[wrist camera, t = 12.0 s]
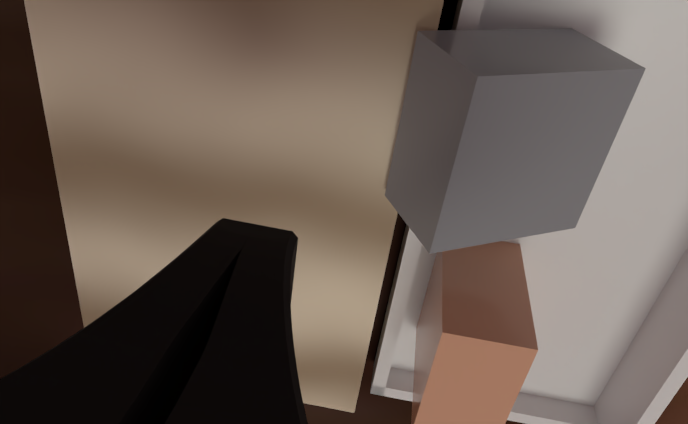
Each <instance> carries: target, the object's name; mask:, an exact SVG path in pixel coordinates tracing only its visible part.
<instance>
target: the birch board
mask: <svg viewBox="0 0 688 424" xmlns="http://www.w3.org/2000/svg"><path fill="white" fill-rule="evenodd" d="M443 2H444V0H24V3H25V9H26V14H27V20H28V25H29V31H30V36H31V41H32V47H33V52H34V58H35V63H36V69H37V74H38V80H39V85H40V90H41V96H42V101H43V107H44V112H45V118H46V123H47V128H48V134H49V139H50V145H51V150H52V156H53V161H54V167H55V172H56V177H57V183H58V188H59V194H60V199H61V205H62V210H63V216H64V221H65V226H66V232H67V237H68V243H69V248H70V254H71V259H72V265H73V270H74V275H75V281H76V286H77V292H78V297H79V303H80V308H81V313H82V319H83V324H84V328H85V327H86V326H87V325H89V324H90V323H92V322H93V321H95V320H96V319H97V318H99V317H100V316H101V315H103V314H104V313H106V312H107V311H108V310H110V309H111V308H113V307H114V306H115V305H117V304H118V303H119V302H121V301H122V300H124V299H125V298H126V297H128V296H129V295H130V294H132V293H133V292H134V291H136V290H137V289H138V288H139V287H141V286H142V285H143V284H144V283H146V282H147V281H148V280H149V279H151V278H152V277H153V276H154V275H156V274H157V273H158V272H159V271H161V270H162V269H163V268H164V267H166V266H167V265H168V264H169V263H170V262H172V261H173V260H174V259H175V258H176V257H177V256H179V255H180V254H181V253H182V252H183V251H184V250H186V249H187V248H188V247H189V246H190V245H191V244H193V243H194V242H195V241H196V240H197V239H198V238H199V237H200V236H202V235H203V234H204V233H205V232H206V231H207V230H208V229H209V228H210V227H212V226H213V225H214V224H215V223H216V222H217V221H219V220H221V219H222V218H226V219H231V220H236V221H241V222H247V223H252V224H257V225H262V226H268V227H273V228H278V229H284V230H289V231H293V232H294V234H295V235H296V236H297V237H298V244H297V253H296V262H295V271H294V280H293V289H292V298H291V319H292V333H293V342H294V350H295V358H296V365H297V372H298V378H299V384H300V389H301V395H302V400H303V403H306V404H311V405H317V406H322V407H327V408H332V409H337V410H342V411H347V412H352V413H354V411H355V407H356V402H357V398H358V393H359V388H360V384H361V379H362V375H363V370H364V365H365V361H366V356H367V352H368V347H369V342H370V338H371V333H372V329H373V324H374V320H375V315H376V310H377V306H378V301H379V297H380V292H381V287H382V283H383V278H384V274H385V269H386V264H387V260H388V255H389V251H390V246H391V241H392V237H393V232H394V228H395V223H396V218H397V214H398V212H397V211H396V209H395V208H394V207H393V206H392V204H391V203H390V202H389V200H388V199H387V198H386V196H385V191H386V186H387V181H388V176H389V171H390V166H391V161H392V156H393V151H394V146H395V141H396V137H397V132H398V127H399V122H400V117H401V112H402V107H403V102H404V97H405V92H406V87H407V82H408V77H409V72H410V67H411V62H412V57H413V52H414V47H415V42H416V37H417V32H418V31H429V30H438V25H439V21H440V16H441V12H442V7H443Z"/></svg>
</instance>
